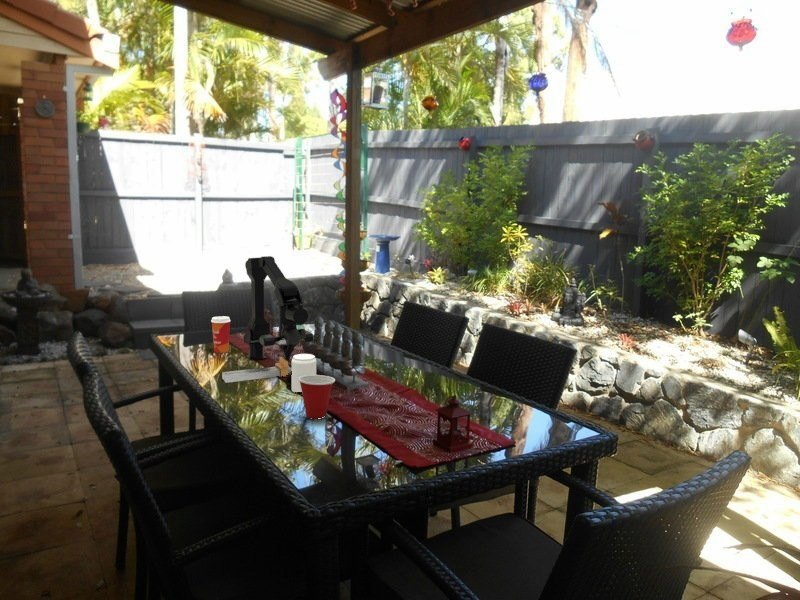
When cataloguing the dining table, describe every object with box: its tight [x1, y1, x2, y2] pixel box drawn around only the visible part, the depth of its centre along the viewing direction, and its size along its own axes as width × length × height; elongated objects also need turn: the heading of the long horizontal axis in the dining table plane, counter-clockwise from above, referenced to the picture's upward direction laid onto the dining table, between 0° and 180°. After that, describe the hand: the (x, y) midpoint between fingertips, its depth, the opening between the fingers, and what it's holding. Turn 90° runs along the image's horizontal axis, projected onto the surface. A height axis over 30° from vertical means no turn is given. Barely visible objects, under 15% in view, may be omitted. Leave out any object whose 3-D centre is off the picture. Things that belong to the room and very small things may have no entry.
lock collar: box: [274, 356, 289, 377], centre depth 235 cm, size 7×2×5 cm, turn 29°
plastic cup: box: [299, 374, 336, 420], centre depth 194 cm, size 11×11×12 cm
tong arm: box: [221, 366, 279, 381], centre depth 232 cm, size 20×2×2 cm, turn 118°
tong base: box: [223, 365, 292, 384], centre depth 232 cm, size 5×24×2 cm, turn 119°
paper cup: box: [210, 315, 232, 354], centre depth 264 cm, size 8×8×14 cm
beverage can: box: [291, 353, 317, 393], centre depth 217 cm, size 8×8×12 cm
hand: (287, 361), depth 236 cm, fingers closed
